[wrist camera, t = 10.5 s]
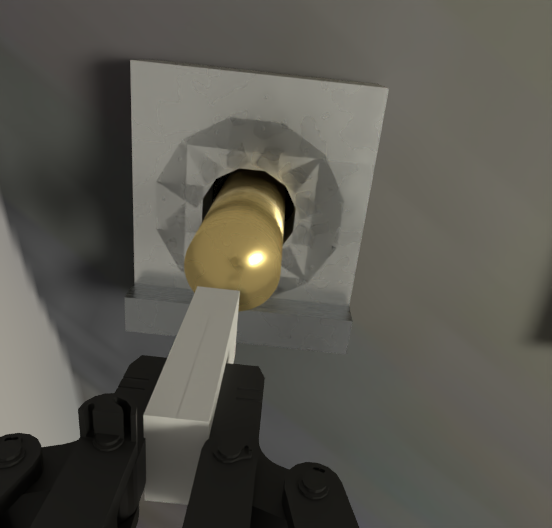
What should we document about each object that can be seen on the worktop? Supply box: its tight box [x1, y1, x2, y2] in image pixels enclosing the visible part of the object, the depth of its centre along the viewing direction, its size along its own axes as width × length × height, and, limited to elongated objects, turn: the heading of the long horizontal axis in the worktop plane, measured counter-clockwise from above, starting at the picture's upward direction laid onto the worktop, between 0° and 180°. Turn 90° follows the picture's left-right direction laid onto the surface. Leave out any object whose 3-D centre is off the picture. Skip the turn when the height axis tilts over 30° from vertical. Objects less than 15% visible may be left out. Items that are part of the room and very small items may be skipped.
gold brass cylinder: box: [184, 168, 286, 312], centre depth 27 cm, size 4×4×12 cm
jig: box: [125, 59, 389, 354], centre depth 30 cm, size 16×14×6 cm
